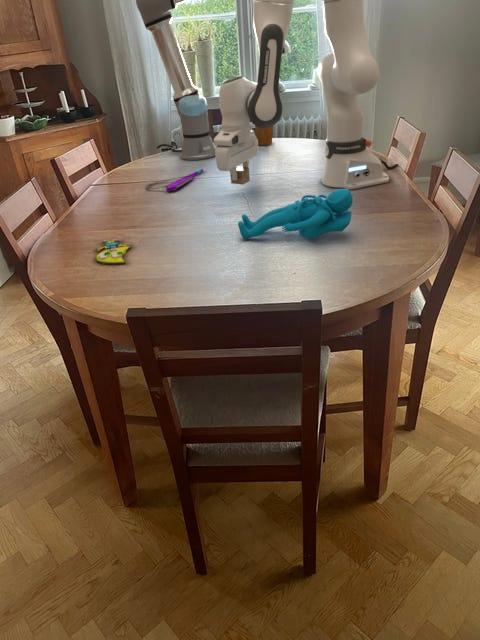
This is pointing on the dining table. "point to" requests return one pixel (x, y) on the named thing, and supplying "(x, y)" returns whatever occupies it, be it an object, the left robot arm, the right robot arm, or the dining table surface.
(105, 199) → the dining table surface
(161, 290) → the dining table surface
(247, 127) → the right robot arm
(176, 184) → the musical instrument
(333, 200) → the toy
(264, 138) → the beer glass
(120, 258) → the toy
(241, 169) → the block
